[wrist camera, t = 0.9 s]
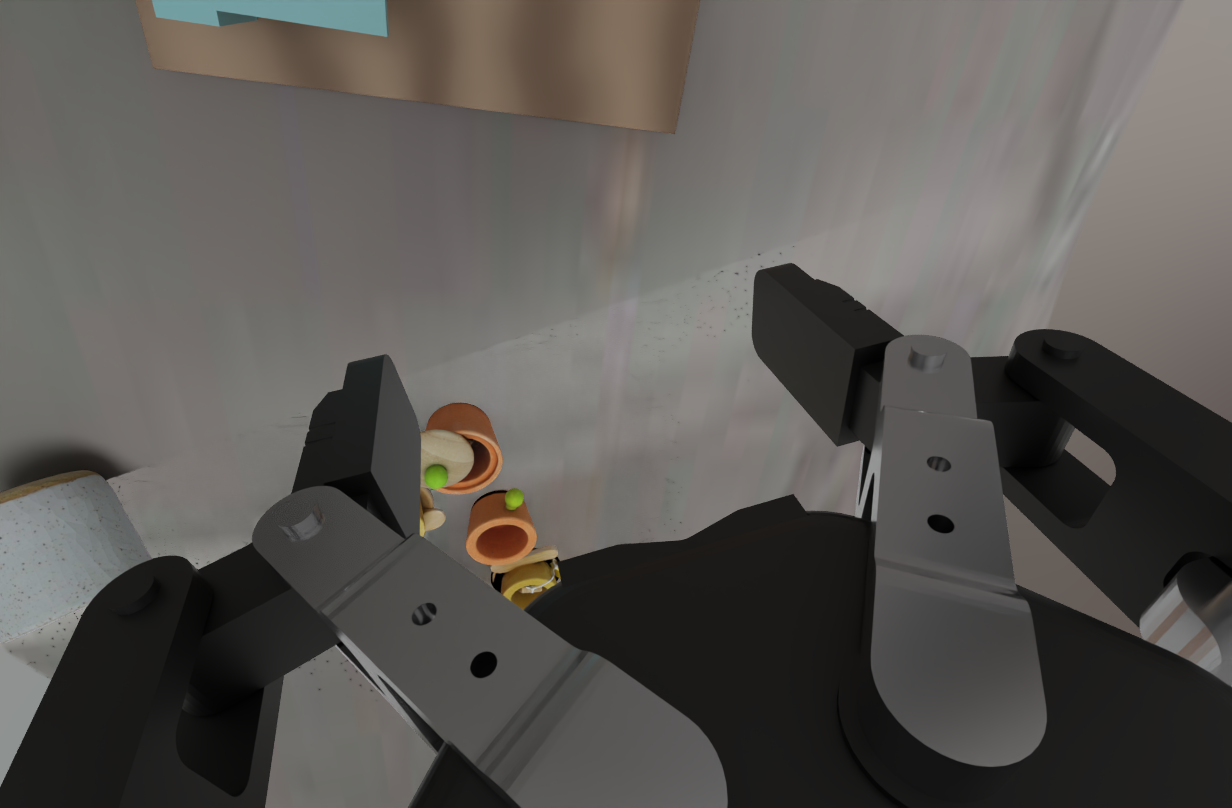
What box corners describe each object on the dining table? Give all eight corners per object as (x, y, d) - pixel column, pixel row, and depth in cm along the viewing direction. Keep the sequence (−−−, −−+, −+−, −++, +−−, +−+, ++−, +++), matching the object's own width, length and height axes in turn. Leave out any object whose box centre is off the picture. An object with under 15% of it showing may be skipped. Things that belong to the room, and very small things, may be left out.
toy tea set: (572, 580, 57) (593, 670, 49) (420, 627, 56) (417, 728, 48) (498, 371, 41) (511, 457, 33) (281, 430, 39) (243, 535, 32)
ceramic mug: (116, 460, 39) (64, 464, 32) (175, 563, 40) (137, 589, 33) (-87, 538, 35) (-197, 563, 28) (-15, 652, 36) (-104, 703, 29)
